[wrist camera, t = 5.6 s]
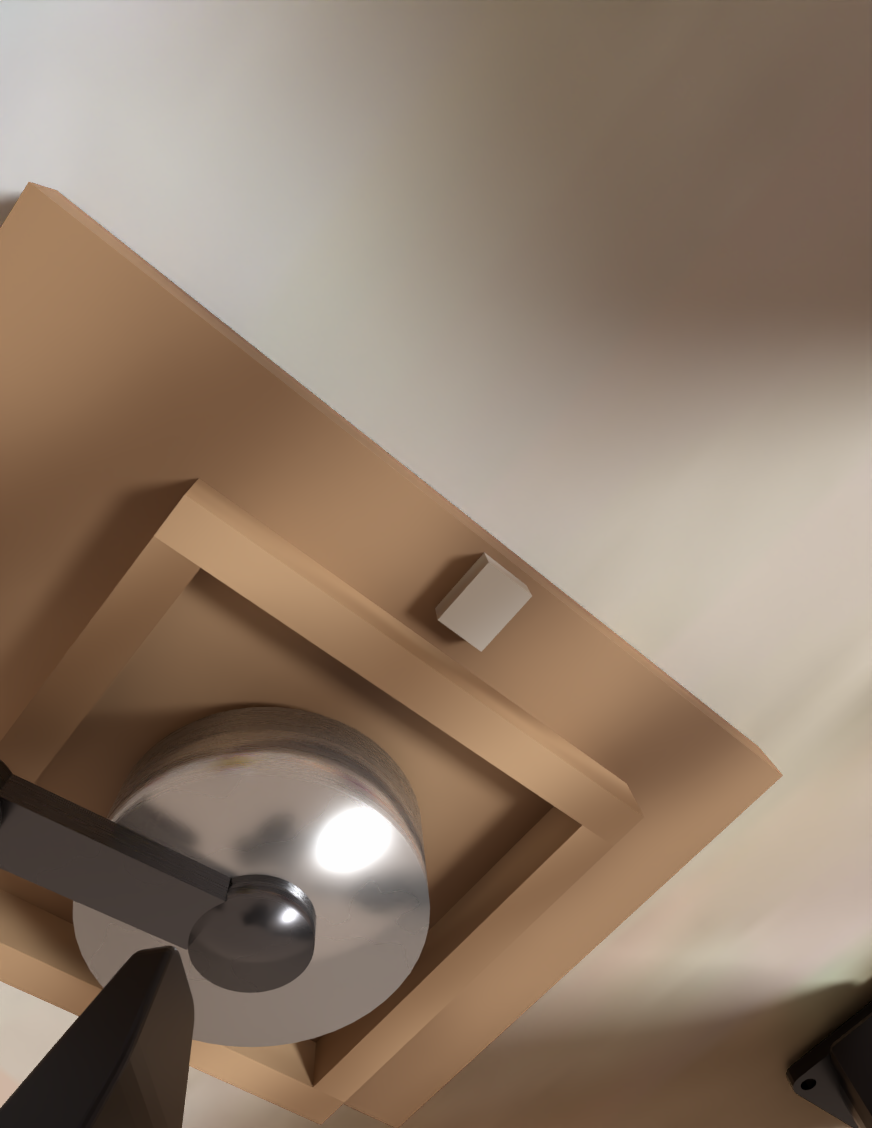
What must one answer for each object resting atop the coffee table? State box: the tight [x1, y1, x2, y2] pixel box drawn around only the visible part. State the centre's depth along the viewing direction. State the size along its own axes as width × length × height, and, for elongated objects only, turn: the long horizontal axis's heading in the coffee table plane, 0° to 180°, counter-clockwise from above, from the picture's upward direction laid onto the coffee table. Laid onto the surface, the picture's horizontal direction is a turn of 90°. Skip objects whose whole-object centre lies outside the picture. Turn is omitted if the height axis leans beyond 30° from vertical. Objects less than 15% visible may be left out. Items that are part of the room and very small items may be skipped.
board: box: [0, 182, 783, 1128], centre depth 17 cm, size 20×15×2 cm
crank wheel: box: [0, 707, 430, 1047], centre depth 14 cm, size 10×7×6 cm, turn 54°
